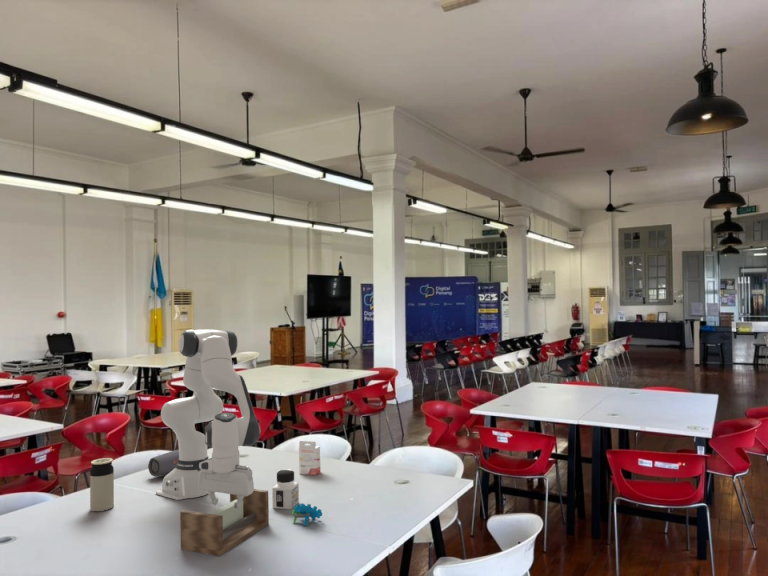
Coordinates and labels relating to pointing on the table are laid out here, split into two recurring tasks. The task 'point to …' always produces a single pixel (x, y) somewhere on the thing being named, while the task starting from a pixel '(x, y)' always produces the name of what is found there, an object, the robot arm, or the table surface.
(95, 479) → the travel mug
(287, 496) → the container
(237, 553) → the table surface
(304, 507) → the gear
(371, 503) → the table surface
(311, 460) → the ink cartridge box
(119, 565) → the table surface
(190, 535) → the cabinet base
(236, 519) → the door panel
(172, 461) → the bluetooth speaker
